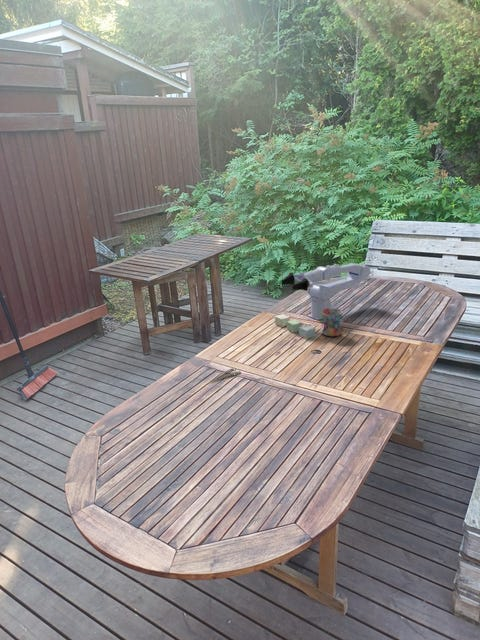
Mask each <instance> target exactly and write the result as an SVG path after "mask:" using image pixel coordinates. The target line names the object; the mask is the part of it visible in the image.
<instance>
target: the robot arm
mask: <svg viewBox="0 0 480 640" xmlns="http://www.w3.org/2000/svg"><path fill="white" fill-rule="evenodd" d="M345 273H346V276H345V277H346V278H343V279H340V280H337V281H336V280H335V281H332V282H329V283H325V284H324V283H322V284H316V283H317V282H320V281H323V280H325V281H330V280H331V279H332V278H337V277H340V276H341V275H342V274H345ZM370 273H371V267H370V266H369V265H364V264H360V263H356V262H349V263H348V264H344V265H339V264H338V263H333V265H326V266H320V265H318V266H317V267H316V269H313V270H309V271H307V272H303V271H301V272H300V273H296V274H295V273H294V272H289V274H288V275H287V276H286V277H284V278H283V279H281V285H282V286H285V285H292V290H293V291H298V290H299V291H307V294H308V296H309V297H310V299H311V300H310V305H311V306H310V311H311V312H310V313H309V314H307V317H310V318H312V319H314V320H317V321H319V320H324V318H323V315H322V313H321V311H322V310H324V309H328V308H332V301H331V297H332V296H333V294H336V293H339V292H342V291H345V290H349V289H352V288H355V287H357V286H358V285H359V284H360V283H361V282H362V281H365V280H368V278H369V276H370ZM295 282H296V283H295Z"/></svg>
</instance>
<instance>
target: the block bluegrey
mask: <svg viewBox="0 0 480 640" xmlns="http://www.w3.org/2000/svg"><path fill="white" fill-rule="evenodd" d="M298 336H300V337H302V338H304V339H306V340H307V339H310V338H314V337H316V327H314V326H311V325H309V324H305V325H302V327H299V331H298Z"/></svg>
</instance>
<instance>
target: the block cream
mask: <svg viewBox="0 0 480 640" xmlns="http://www.w3.org/2000/svg"><path fill="white" fill-rule="evenodd" d="M287 321H291V317H290V316H289V315H286V314H284V313H282V314H279V315H275V316H274V324H275V325H277V326H279V327H281V328H282V327H287Z"/></svg>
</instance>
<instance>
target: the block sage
mask: <svg viewBox="0 0 480 640" xmlns="http://www.w3.org/2000/svg"><path fill="white" fill-rule="evenodd" d="M302 326H303V321H300V320H298V319H295V318H293V319H292V320H291V319H290V321H287V325H286V330H287V331H289V332H292V333H297V332H299V327H302Z"/></svg>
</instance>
